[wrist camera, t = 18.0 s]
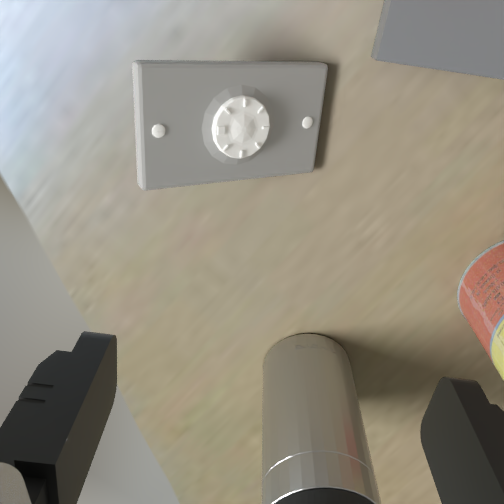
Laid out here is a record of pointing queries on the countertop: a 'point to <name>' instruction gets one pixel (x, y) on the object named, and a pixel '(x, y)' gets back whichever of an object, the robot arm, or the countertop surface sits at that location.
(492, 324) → the canned food
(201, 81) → the light switch
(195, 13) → the countertop surface
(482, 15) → the panel
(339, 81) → the countertop surface
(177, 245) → the countertop surface
